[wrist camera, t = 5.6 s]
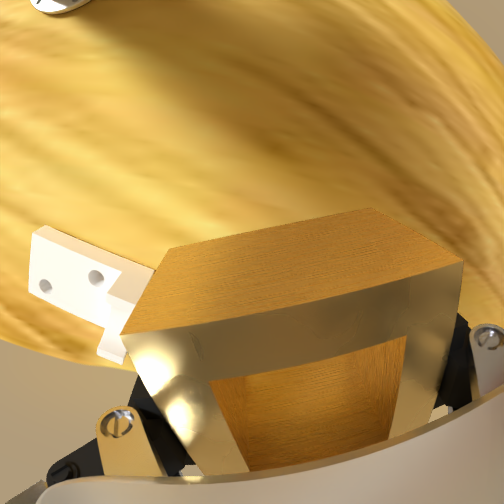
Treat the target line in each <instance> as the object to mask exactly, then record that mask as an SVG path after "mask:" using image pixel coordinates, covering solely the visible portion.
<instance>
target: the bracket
mask: <svg viewBox="0 0 504 504" xmlns="http://www.w3.org/2000/svg"><path fill="white" fill-rule="evenodd" d="M154 271H155V270H153V269H151V268H148V267H145V266H143V265H140V264H138V263H135V262H133V261H130V260H128V259H125V258H123V257H120V256H118V255H115V254H113V253H110V252H108V251H105V250H103V249H101V248H98V247H96V246H93V245H91V244H89V243H86V242H84V241H81V240H79V239H77V238H74V237H72V236H70V235H67V234H65V233H63V232H61V231H58V230H56V229H54V228H51V227H49V226H47V225H45V226H43V227H41V228H39V229H38V230H36V231H34V232H33V233H32V242H31V253H30V267H29V292H30V293H32V294H34V295H35V296H37V297H39V298H41V299H43V300H45V301H47V302H49V303H51V304H53V305H55V306H57V307H59V308H61V309H63V310H65V311H68V312H70V313H72V314H74V315H76V316H78V317H81V318H83V319H85V320H87V321H90V322H92V323H94V324H96V325H99V326H101V327H103V328H105V331H104V334H103V336H102V339H101V341H100V344H99V346H98V348H97V355H99V356H101V357H103V358H106V359H108V360H111V361H113V362H116V363H118V364H121V365H122V364H123V362H124V359H125V357H126V354H127V351H126V349H125V347H124V345H123V343H122V341H121V338H120V336H119V335H120V333H121V331H122V329H123V327H124V325H125V324H126V322H127V320H128V318H129V316H130V315H131V313H132V311H133V309H134V307H135V306H136V304H137V302H138V300H139V299H140V297H141V295H142V293H143V292H144V290H145V288H146V287H147V285H148V283H149V281H150V280H151V278H152V276H153V274H154Z"/></svg>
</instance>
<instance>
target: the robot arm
mask: <svg viewBox="0 0 504 504" xmlns="http://www.w3.org/2000/svg"><path fill="white" fill-rule="evenodd" d="M89 1H91V0H31V3H32V5H33V6H34V7H35V8H36V9H38V10H39V11H41V12H43V13H46V14H60V13H65V12H68V11H71V10H74V9H76V8H78V7H80V6H82V5H84V4H86V3H88V2H89ZM444 404H445V405H446V406H448V415H446V416H443V417H441V418H439V419H437V420H435V421H433V422H430V423H428V424H426V425H424V426H421V427H419V428H416V429H414V430H412V431H409V432H407V433H404V434H401V435H399V436H396V437H394V438H391V439H388V440H385V441H382V442H380V443H377V444H374V445H371V446H367V447H364V448H361V449H358V450H354V451H351V452H348V453H344V454H340V455H337V456H333V457H329V458H325V459H321V460H316V461H312V462H307V463H302V464H297V465H292V466H287V467H281V468H275V469H269V470H262V471H254V472H246V473H237V474H225V475H210V476H187V477H186V476H183V475H182V472H181V470H182V469H183V468H184V467H185V465H196V463H195V462H194V461H193V459H192V458H191V457H190V455H189V454H188V452H187V451H186V450H185V448H184V447H183V445H182V444H181V442H180V441H179V439H178V438H177V436H176V435H175V433H174V432H173V430H172V429H171V427H170V426H169V424H168V423H167V421H166V420H165V418H164V416H163V415H162V413H161V412H160V410H159V408H158V407H157V405H156V403H155V402H154V400H153V398H152V397H151V395H150V393H149V391H148V390H147V388H146V386H145V384H144V383H143V381H142V379H141V377H140V375H139V374H138V377H137V380H136V383H135V385H134V388H133V391H132V394H131V397H130V400H129V403H128V406H118V407H114V408H111V409H109V410H107V411H106V412H105V413H104V414H102V415H101V417H100V418H99V419H98V421H97V424H96V435H97V438H95V439H93V440H92V441H90V442H89V443H87V444H85V445H84V446H83V447H81V448H79V449H77V450H76V451H74V452H72V453H71V454H69V455H67V456H66V457H64V458H62V459H61V460H59V461H57V462H56V463H55V464H53V465H52V466H51V468H50V469H49V471H48V473H47V478H46V482H44V481H43V480H40V481H39V482H37V483H36V484H34V485H32V486H31V487H29V488H28V489H26V490H25V491H23V492H22V493H20V494H18V495H17V496H15V497H14V498H12V499H10V500H9V501H8V502H7V503H5V504H504V329H503V328H501V327H499V326H497V325H494V324H480V325H478V326H476V327H474V328H473V329H472V330H471V329H470V328H469V327H468V322H467V321H466V320H465V319H464V318H463V317H462V316H461V315H460V314H459V313H457V316H456V322H455V327H454V332H453V337H452V342H451V346H450V351H449V355H448V359H447V363H446V367H445V371H444V374H443V378H442V381H441V385H440V388H439V391H438V395H437V398H436V401H435V404H434V407H433V409H435V408H437V407H439V406H442V405H444Z"/></svg>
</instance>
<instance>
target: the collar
mask: <svg viewBox="0 0 504 504" xmlns="http://www.w3.org/2000/svg"><path fill="white" fill-rule="evenodd" d="M463 263H464V260H462V259H461V258H459V257H457V256H456V255H454V254H453V253H451V252H449V251H448V250H446V249H444V248H443V247H441V246H439V245H438V244H436V243H434V242H433V241H431V240H429V239H427V238H426V237H424V236H422V235H421V234H419V233H417V232H415V231H414V230H412V229H410V228H408V227H406V226H405V225H403V224H401V223H399V222H397V221H395V220H394V219H392V218H390V217H388V216H386V215H384V214H382V213H380V212H378V211H377V210H375V209H373V208H367V209H362V210H357V211H351V212H346V213H341V214H336V215H330V216H325V217H320V218H315V219H310V220H305V221H300V222H295V223H290V224H285V225H280V226H275V227H270V228H265V229H260V230H255V231H250V232H246V233H241V234H236V235H231V236H226V237H222V238H217V239H212V240H208V241H203V242H198V243H194V244H189V245H185V246H180V247H175V248H171V249H169V250H168V252H167V253H166V255H165V257H164V258H163V260H162V261H161V263H160V265H159V266H158V268H157V270H156V271H155V273H154V275H153V276H152V278H151V280H150V281H149V283H148V285H147V287H146V288H145V290H144V292H143V293H142V295H141V297H140V299H139V300H138V302H137V304H136V306H135V307H134V309H133V311H132V313H131V315H130V316H129V318H128V320H127V322H126V324H125V325H124V327H123V329H122V331H121V333H120V335H119V336H120V338H121V341H122V343H123V345H124V347H125V349H126V351H127V353H128V355H129V357H130V358H131V360H132V362H133V364H134V366H135V368H136V370H137V372H138V374H139V375H140V377H141V379H142V381H143V383H144V384H145V386H146V388H147V390H148V391H149V393H150V395H151V397H152V398H153V400H154V402H155V403H156V405H157V407H158V408H159V410H160V412H161V413H162V415H163V416H164V418H165V420H166V421H167V423H168V424H169V426H170V427H171V429H172V430H173V432H174V433H175V435H176V436H177V438H178V439H179V441H180V442H181V444H182V445H183V447H184V448H185V450H186V451H187V452H188V454H189V455H190V457H191V458H192V459H193V461H194V462H195V463H196V465H197V466H198V467H199V469H200V470H201V471H202V473H203V474H204V475H205V476H210V475H225V474H237V473H246V472H254V471H262V470H269V469H275V468H281V467H287V466H292V465H297V464H302V463H307V462H312V461H316V460H321V459H325V458H329V457H333V456H337V455H340V454H344V453H348V452H351V451H354V450H358V449H361V448H364V447H367V446H371V445H374V444H377V443H380V442H382V441H385V440H388V439H391V438H394V437H396V436H399V435H401V434H404V433H407V432H409V431H412V430H414V429H416V428H419V427H421V426H424V425H426V424H428V421H429V418H430V416H431V413H432V410H433V407H434V404H435V401H436V398H437V395H438V391H439V388H440V385H441V381H442V378H443V374H444V371H445V367H446V363H447V359H448V355H449V351H450V346H451V342H452V337H453V332H454V327H455V322H456V316H457V310H458V304H459V297H460V290H461V282H462V273H463Z"/></svg>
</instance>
